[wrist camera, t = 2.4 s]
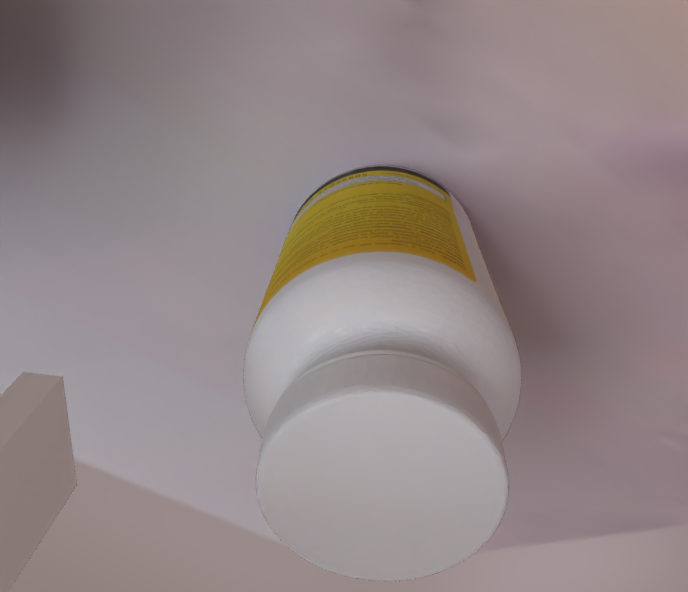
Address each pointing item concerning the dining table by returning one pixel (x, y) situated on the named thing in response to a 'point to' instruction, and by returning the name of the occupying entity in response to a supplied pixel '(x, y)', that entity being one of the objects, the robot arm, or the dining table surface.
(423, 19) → the dining table surface
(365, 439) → the pill bottle
